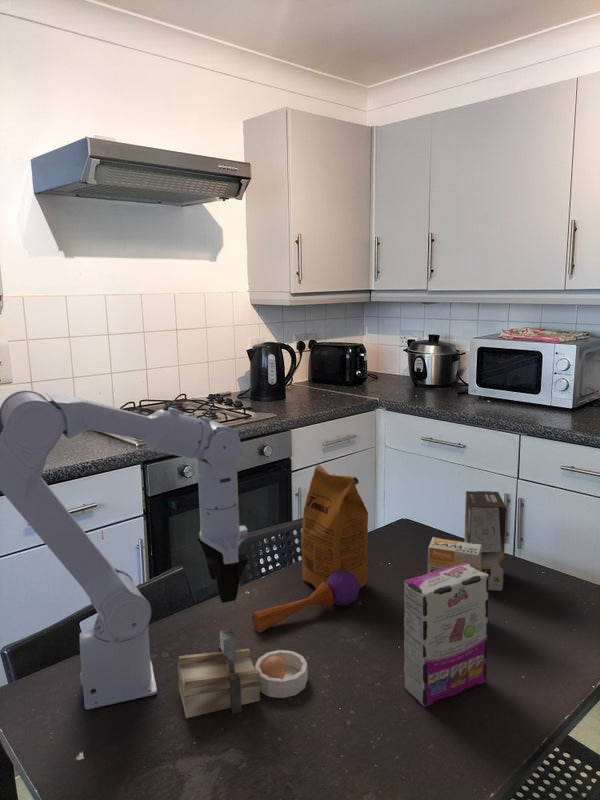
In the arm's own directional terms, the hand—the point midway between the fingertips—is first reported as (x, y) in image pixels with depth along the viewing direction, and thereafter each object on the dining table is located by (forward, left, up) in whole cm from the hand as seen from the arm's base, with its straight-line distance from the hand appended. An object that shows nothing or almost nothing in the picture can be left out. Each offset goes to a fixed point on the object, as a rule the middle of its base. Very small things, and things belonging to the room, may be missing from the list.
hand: (222, 588), depth 93 cm
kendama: (+16, +6, -11) cm, 20 cm away
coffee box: (+51, +6, -11) cm, 52 cm away
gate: (-2, -10, -7) cm, 12 cm away
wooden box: (-3, -10, -10) cm, 15 cm away
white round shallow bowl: (+6, -10, -10) cm, 16 cm away
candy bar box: (+27, -19, -11) cm, 35 cm away
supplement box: (+38, -4, -11) cm, 40 cm away
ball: (+5, -10, -8) cm, 14 cm away
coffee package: (+24, +15, -11) cm, 30 cm away
